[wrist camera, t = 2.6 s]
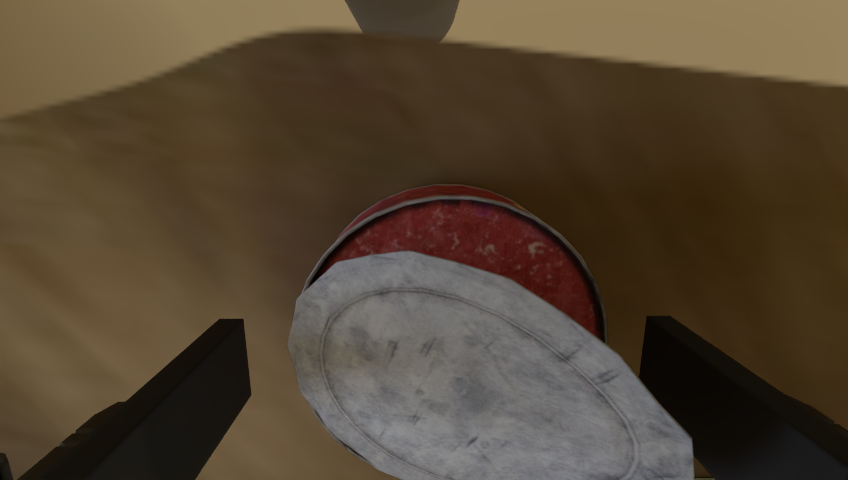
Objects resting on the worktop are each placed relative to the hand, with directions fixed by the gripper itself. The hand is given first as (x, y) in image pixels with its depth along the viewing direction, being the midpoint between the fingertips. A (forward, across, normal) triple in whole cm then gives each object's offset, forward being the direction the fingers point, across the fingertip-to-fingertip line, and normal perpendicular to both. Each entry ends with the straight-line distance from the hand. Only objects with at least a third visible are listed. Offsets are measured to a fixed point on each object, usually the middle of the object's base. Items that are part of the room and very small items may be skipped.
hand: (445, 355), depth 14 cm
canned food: (+3, 0, 0) cm, 3 cm away
